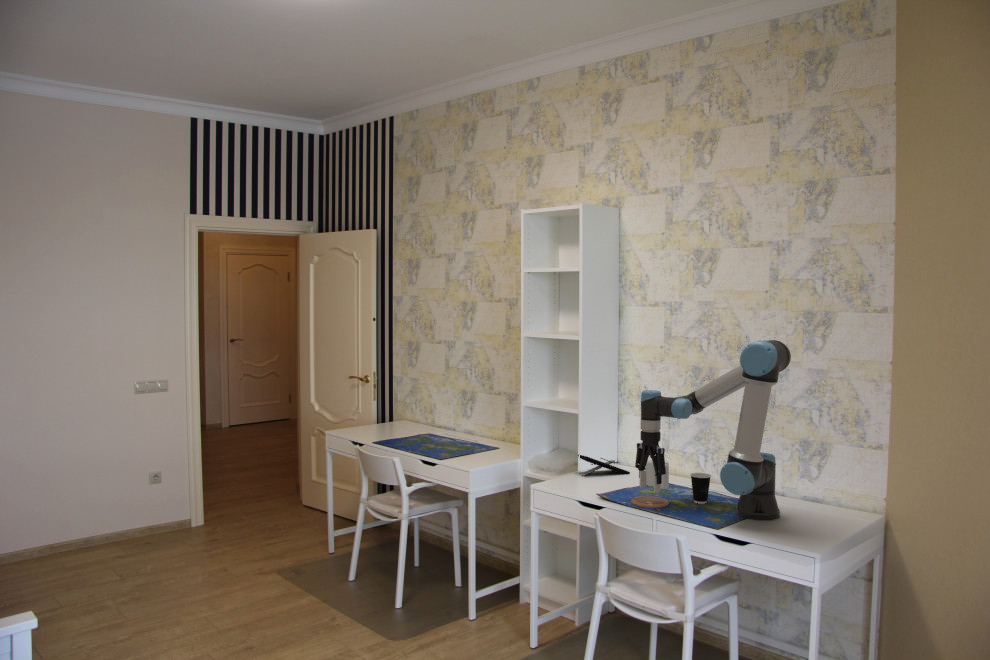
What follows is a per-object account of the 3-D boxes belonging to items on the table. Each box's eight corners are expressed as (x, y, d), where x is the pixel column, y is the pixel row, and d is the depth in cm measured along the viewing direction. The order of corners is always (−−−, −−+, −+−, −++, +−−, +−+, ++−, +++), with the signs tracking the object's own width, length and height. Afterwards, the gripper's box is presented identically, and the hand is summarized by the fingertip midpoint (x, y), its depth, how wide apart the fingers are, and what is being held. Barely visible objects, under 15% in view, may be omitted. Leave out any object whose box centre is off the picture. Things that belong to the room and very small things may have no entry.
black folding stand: (619, 471, 337) (620, 450, 337) (630, 476, 328) (630, 454, 328) (577, 474, 330) (577, 452, 330) (586, 479, 321) (586, 456, 321)
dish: (676, 505, 277) (676, 501, 277) (647, 509, 271) (647, 506, 271) (652, 496, 290) (652, 493, 290) (623, 501, 283) (623, 497, 283)
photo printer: (644, 486, 308) (644, 457, 307) (650, 484, 310) (650, 455, 310) (663, 490, 300) (664, 461, 300) (670, 489, 303) (670, 459, 302)
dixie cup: (706, 506, 276) (706, 478, 276) (686, 503, 281) (687, 475, 280) (713, 502, 282) (714, 474, 282) (694, 498, 287) (694, 471, 287)
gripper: (676, 433, 272) (675, 494, 273) (640, 426, 290) (640, 483, 291) (660, 435, 269) (660, 496, 269) (625, 427, 287) (625, 485, 288)
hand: (649, 489), depth 280 cm, fingers open, 8 cm apart
